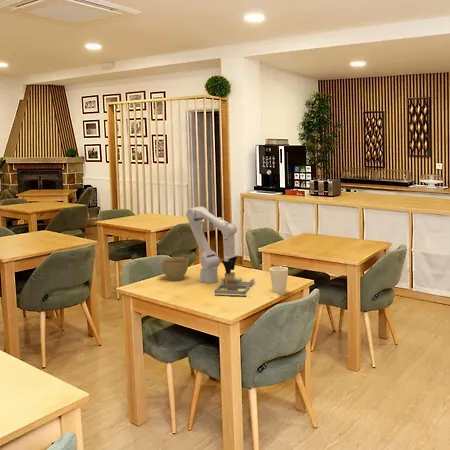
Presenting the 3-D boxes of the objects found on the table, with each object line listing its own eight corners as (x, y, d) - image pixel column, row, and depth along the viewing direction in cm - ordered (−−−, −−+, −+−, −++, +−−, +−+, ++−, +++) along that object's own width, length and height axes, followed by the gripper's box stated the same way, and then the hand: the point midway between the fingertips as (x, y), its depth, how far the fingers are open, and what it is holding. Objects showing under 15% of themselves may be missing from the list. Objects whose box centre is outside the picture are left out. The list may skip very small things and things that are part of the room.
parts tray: (214, 295, 288) (214, 290, 288) (220, 289, 299) (220, 284, 298) (245, 297, 284) (244, 291, 284) (249, 291, 295) (249, 285, 294)
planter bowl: (169, 274, 336) (168, 256, 334) (193, 275, 330) (193, 257, 328) (156, 281, 321) (155, 262, 319) (182, 283, 315) (181, 264, 314)
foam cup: (283, 296, 283) (283, 271, 281) (267, 294, 288) (266, 269, 285) (291, 291, 291) (291, 267, 288) (275, 289, 295) (275, 265, 293)
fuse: (224, 284, 304) (224, 273, 303) (226, 282, 307) (226, 272, 306) (233, 284, 303) (233, 273, 302) (235, 283, 305) (234, 272, 304)
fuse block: (251, 289, 297) (251, 281, 296) (220, 288, 301) (220, 280, 300) (255, 284, 306) (255, 276, 306) (225, 283, 311) (224, 275, 310)
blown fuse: (227, 292, 290) (226, 281, 289) (228, 291, 293) (228, 279, 292) (236, 293, 289) (236, 281, 288) (237, 291, 292) (237, 280, 291)
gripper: (233, 249, 289) (233, 275, 292) (240, 244, 303) (240, 268, 305) (220, 249, 291) (220, 274, 293) (227, 243, 305) (228, 267, 307)
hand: (230, 271), depth 300 cm, fingers open, 7 cm apart
